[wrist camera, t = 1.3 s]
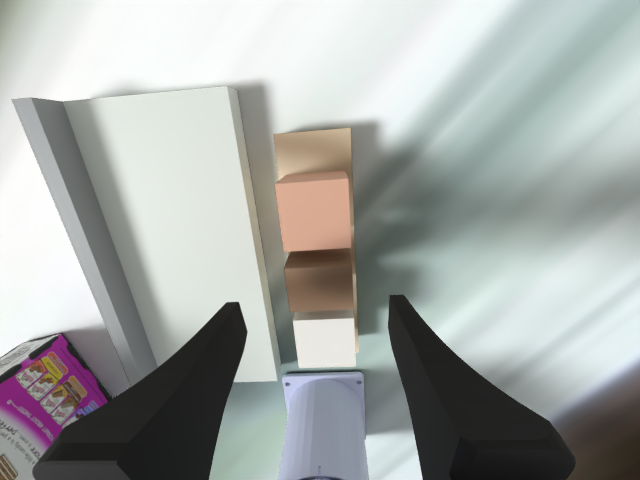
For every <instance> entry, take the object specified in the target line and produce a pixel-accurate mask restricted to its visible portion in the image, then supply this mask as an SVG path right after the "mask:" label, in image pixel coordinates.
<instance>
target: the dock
mask: <svg viewBox="0 0 640 480" xmlns="http://www.w3.org/2000/svg"><path fill="white" fill-rule="evenodd" d="M11 100H12V102H13V104H14V107H15V109H16V112H17V114H18V116H19V119H20V121H21V124H22V126H23V128H24V131H25V133H26V136H27V138H28V140H29V143H30V145H31V148H32V150H33V152H34V155H35V157H36V160H37V162H38V164H39V167H40V169H41V172H42V174H43V176H44V179H45V181H46V184H47V186H48V188H49V191H50V193H51V196H52V198H53V200H54V203H55V205H56V208H57V210H58V212H59V215H60V217H61V220H62V222H63V224H64V227H65V229H66V232H67V234H68V236H69V239H70V241H71V244H72V246H73V248H74V251H75V253H76V256H77V258H78V260H79V263H80V265H81V268H82V270H83V272H84V275H85V277H86V280H87V282H88V284H89V287H90V289H91V292H92V294H93V296H94V299H95V301H96V304H97V306H98V309H99V311H100V313H101V316H102V318H103V321H104V323H105V325H106V328H107V330H108V333H109V335H110V337H111V340H112V342H113V345H114V347H115V349H116V352H117V354H118V357H119V359H120V361H121V364H122V366H123V369H124V371H125V373H126V376H127V378H128V381H129V383H130V385H131V387H132V386H133V385H135V384H136V383H137V382H139V381H140V380H142V379H143V378H144V377H146V376H147V375H149V374H150V373H151V372H153V371H154V370H155V369H157V368H158V367H159V366H160V365H162V364H163V363H164V362H165V361H166V360H168V359H169V358H170V357H171V356H172V355H174V354H175V353H176V352H177V351H178V350H179V349H180V348H181V347H182V346H183V345H185V344H186V343H187V342H188V341H189V340H190V339H191V338H192V337H193V336H194V335H195V334H196V333H197V332H198V331H199V330H200V329H201V328H202V327H203V326H204V325H205V324H206V323H207V322H208V321H209V320H210V319H211V318H212V317H213V316H214V315H215V314H216V313H217V312H218V310H219V309H220V308H221V307H222V306H223V305H224V304H225V303H226V302H239V304H240V307H241V311H242V314H243V318H244V321H245V324H246V328H247V331H248V333H247V338H246V343H245V348H244V352H243V355H242V358H241V361H240V364H239V367H238V370H237V373H236V376H235V378H234V381H233V382H259V381H278V376H279V372H280V367H281V360H280V354H279V348H278V342H277V335H276V329H275V323H274V317H273V311H272V304H271V298H270V292H269V286H268V280H267V273H266V267H265V261H264V255H263V249H262V242H261V236H260V230H259V224H258V217H257V211H256V205H255V199H254V193H253V186H252V180H251V174H250V168H249V162H248V155H247V149H246V143H245V137H244V131H243V124H242V118H241V112H240V106H239V100H238V93H237V91H236V90H234V89H232V88H230V87H228V86H220V87H210V88H200V89H189V90H179V91H168V92H158V93H148V94H137V95H127V96H116V97H106V98H95V99H85V100H75V101H64V102H61V101H54V100H46V99H38V98H21V99H11Z"/></svg>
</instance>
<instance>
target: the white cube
mask: <svg viewBox="0 0 640 480" xmlns="http://www.w3.org/2000/svg"><path fill="white" fill-rule="evenodd" d="M293 326H294V334H295V341H296V349H297V357H298V365H299V368H319V367H353V366H356V356H355V329H354V314H353V309H348V310H325V311H302V312H295V313H294V317H293Z"/></svg>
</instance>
